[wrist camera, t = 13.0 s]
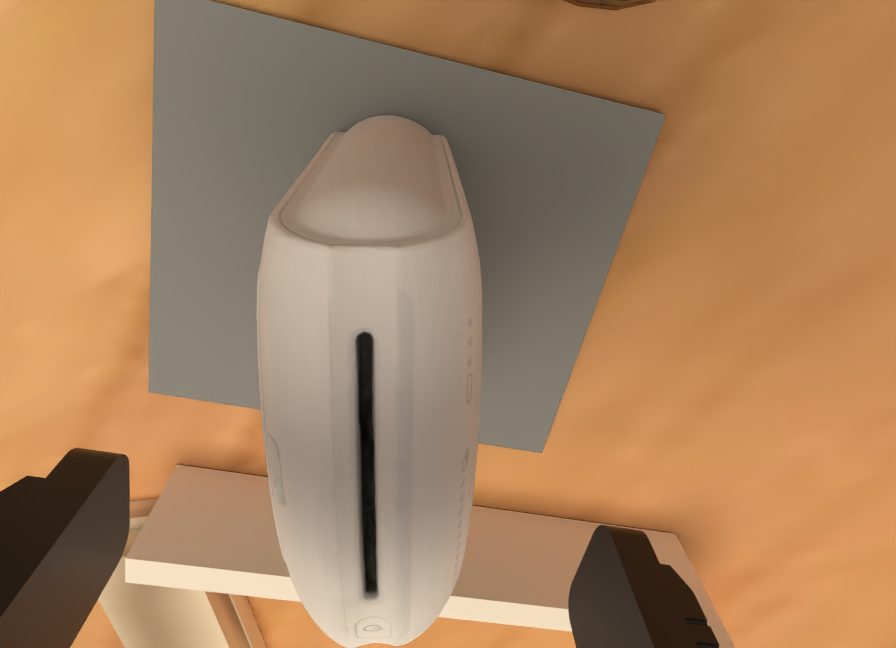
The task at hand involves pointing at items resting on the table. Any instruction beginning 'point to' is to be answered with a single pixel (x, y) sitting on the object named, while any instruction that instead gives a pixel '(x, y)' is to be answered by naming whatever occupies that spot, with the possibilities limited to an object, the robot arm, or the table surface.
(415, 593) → the photo printer
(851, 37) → the table surface
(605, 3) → the wooden mug
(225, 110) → the mat
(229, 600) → the offcut stack
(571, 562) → the rack
